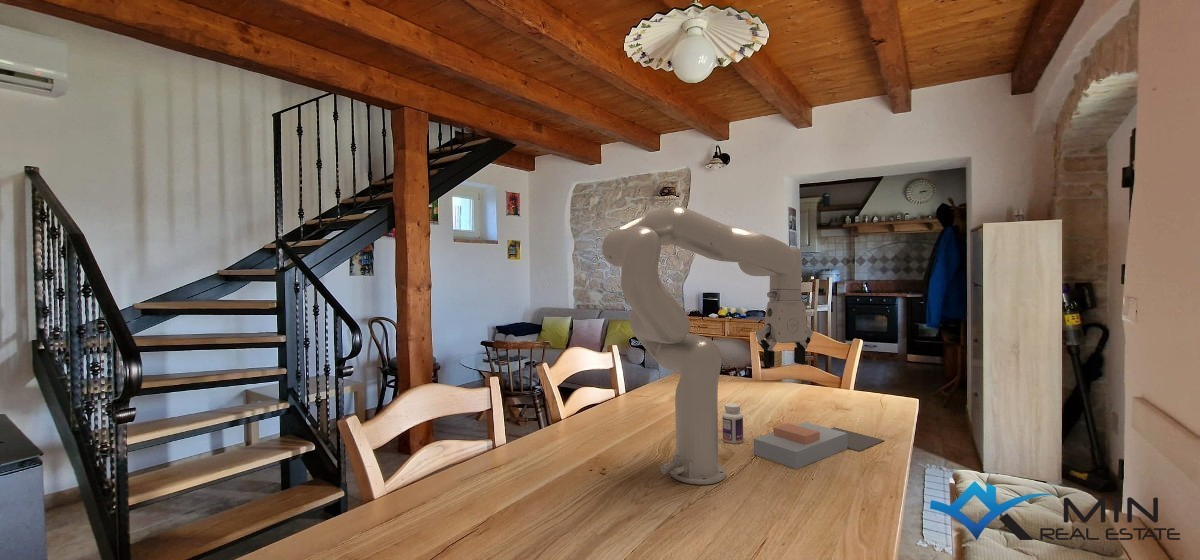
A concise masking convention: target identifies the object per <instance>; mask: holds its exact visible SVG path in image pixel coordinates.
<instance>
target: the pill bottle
mask: <svg viewBox="0 0 1200 560" xmlns="http://www.w3.org/2000/svg"><path fill="white" fill-rule="evenodd" d="M740 411H741V405H740V404H739V403H734V402H732V403H731V402H729V403H725V404H724V412H722V415H721V416H722V418H721V419H722V421H721V423H722V440H723V441H724V442H725V443H727V444H741V443H743V442H744V416H743V414H742V412H740Z"/></svg>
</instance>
